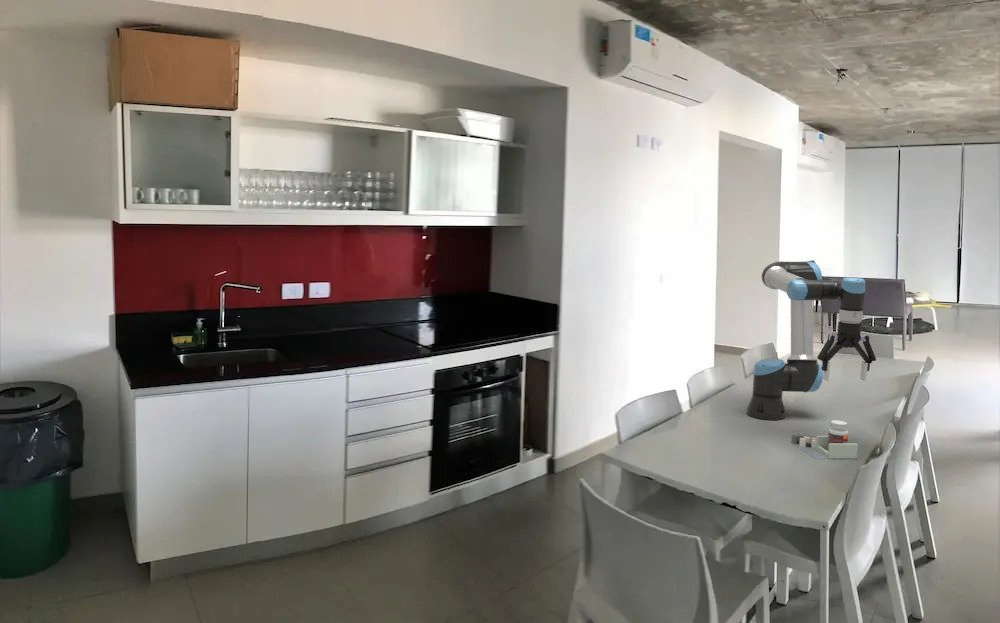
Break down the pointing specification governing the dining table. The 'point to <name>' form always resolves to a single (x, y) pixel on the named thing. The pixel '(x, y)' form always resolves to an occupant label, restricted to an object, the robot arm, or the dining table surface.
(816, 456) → the board
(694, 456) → the dining table surface
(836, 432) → the pill bottle
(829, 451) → the end holder
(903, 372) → the dining table surface
